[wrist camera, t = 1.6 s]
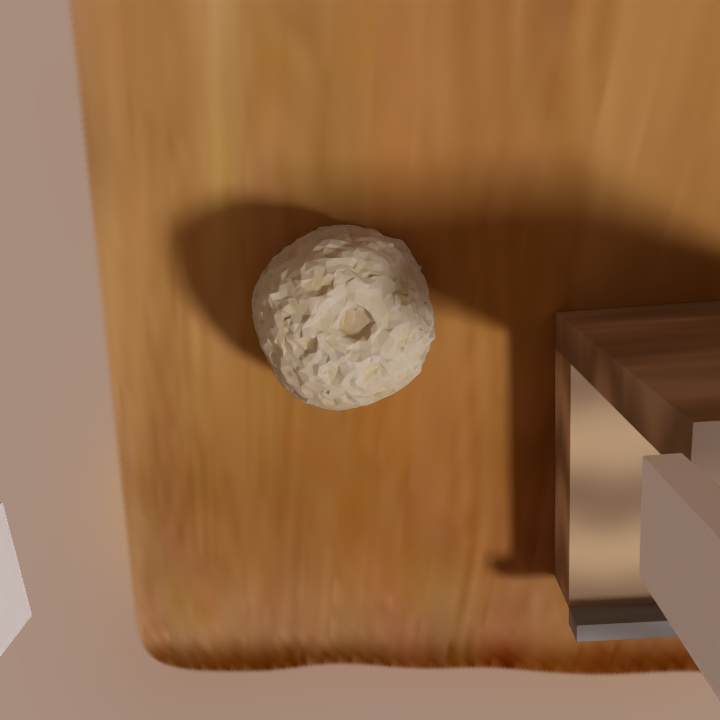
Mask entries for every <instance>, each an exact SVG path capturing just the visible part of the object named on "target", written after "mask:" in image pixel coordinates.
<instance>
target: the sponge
mask: <svg viewBox="0 0 720 720" xmlns="http://www.w3.org/2000/svg"><path fill="white" fill-rule="evenodd" d="M421 268H422V267H421V266H420V265H419V264H417V262H416V260H415V258H414V257H413V256H412V254H411V251H410V249H409V248H408V247H407V245H406V244H405V242H404V241H402V240H401V239H395V238H391V237H387V236H384V235H382V234H381V233H379V232H378V231H377V230H375V229H371V228H362V227H360V226H356V225H332V226H326V227H319V228H318V229H317V230H315V231H311V232H310V233H307V234H306V235H305V236H302V237H301V238H299V239H296V241H295V242H293V243H292V244H291V245H289V246H287V247H285V248H284V249H283V250H282V251H281V252H280V253H279V254H278V255H276V256H274V257H273V258H272V259H271V262H270V263H269V264H268V266H267V268H266V269H265V270H264V271H263V272H262V273H261V275H260V278H259V280H258V282H257V284H256V285H255V288H254V290H253V295H252V312H253V314H252V318H253V323H254V327H255V330H256V334H257V336H258V339H259V344H260V347H261V349H262V350H263V352H264V354H265V356H266V358H267V361H268V363H269V364H270V365H271V367H272V370H273V372H274V375H275V376H276V377H277V379H278V380H279V382H280V383H281V385H282V386H283V387H284V388H285V389H286V390H287V391H289V392H290V393H291V395H292V396H293V397H295V398H298V399H300V400H302V401H303V402H305V403H307V404H309V405H310V404H312V405H315V406H317V407H320V408H324V409H331V410H336V411H337V410H344V409H350V408H356V407H360V406H366V405H369V404H371V403H374V402H378V401H379V400H380V399H383V398H385V397H387V396H390V395H392V394H394V393H396V392H397V391H399V390H400V389H402V388H403V387H405V386H406V385H407V384H409V383H410V382H411V381H412V380H413V379H414V378H415V377H416V376H417V375H418V374H420V372H421V370H422V365H423V362H424V360H425V357H426V355H427V352H428V351H429V350H430V343H431V342H432V341H433V340H434V339H435V330H434V315H435V314H434V313H433V307H432V305H431V303H430V297H429V294H428V292H429V289H428V285H427V282H426V279H425V276H424V275H423V274H422V273H421Z"/></svg>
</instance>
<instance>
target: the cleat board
mask: <svg viewBox="0 0 720 720" xmlns="http://www.w3.org/2000/svg"><path fill="white" fill-rule="evenodd" d="M675 453H682V454H683V455H684V456H685V457H686V458H688V459H689V460H690V461H691V462H692V463H693V464H694V465H695V466H696V467H697V468H698V469H699V470H701V471H702V472H703V473H704V474H705V475H706V476H707V477H708V478H709V479H710V480H711V481H712V482H713V483H715V484H716V485H717V486H718V487H719V488H720V300H717V301H703V302H689V303H675V304H661V305H647V306H633V307H619V308H605V309H591V310H577V311H563V312H555V577H556V579H557V582H558V584H559V586H560V588H561V591H562V593H563V595H564V597H565V600H566V602H567V604H568V607H569V625H570V627H571V629H572V632H573V634H574V636H575V639H576V641H577V642H578V641H597V640H617V639H637V638H657V637H676V636H678V635H677V634H676V632H675V631H674V629H673V628H672V626H671V625H670V623H669V622H668V620H667V618H666V617H665V615H664V614H663V612H662V611H661V609H660V608H659V606H658V605H657V603H656V601H655V600H654V598H653V597H652V595H651V594H650V592H649V591H648V589H647V588H646V586H645V585H644V583H643V581H642V580H641V578H640V577H639V566H640V530H641V494H642V458H643V456H647V455H661V454H675Z"/></svg>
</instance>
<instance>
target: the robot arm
mask: <svg viewBox="0 0 720 720" xmlns="http://www.w3.org/2000/svg"><path fill="white" fill-rule="evenodd" d="M639 577H640V578H641V580H642V581H643V583H644V585H645V586H646V588H647V589H648V591H649V592H650V594H651V595H652V597H653V598H654V600H655V601H656V603H657V605H658V606H659V608H660V609H661V611H662V612H663V614H664V615H665V617H666V618H667V620H668V622H669V623H670V625H671V626H672V628H673V629H674V631H675V632H676V634H677V635H678V637H679V639H680V640H681V642H682V643H683V645H684V646H685V648H686V649H687V651H688V652H689V654H690V656H691V657H692V659H693V660H694V662H695V663H696V665H697V666H698V668H699V669H700V671H701V673H702V674H703V675H704V677H705V679H706V680H707V682H708V683H709V685H710V686H711V688H712V689H713V691H714V693H715V694H716V696H717V697H718V699H719V700H720V488H719V487H718V486H717V485H716V484H715V483H713V482H712V481H711V480H710V479H709V478H708V477H707V476H706V475H705V474H704V473H703V472H702V471H701V470H699V469H698V468H697V467H696V466H695V465H694V464H693V463H692V462H691V461H690V460H689V459H688V458H686V457H685V456H684V455H683V454H682V453H675V454H661V455H647V456H643V458H642V494H641V530H640V566H639ZM31 616H32V614H31V610H30V606H29V603H28V599H27V595H26V592H25V587H24V583H23V580H22V576H21V572H20V568H19V564H18V560H17V557H16V553H15V549H14V545H13V541H12V537H11V533H10V529H9V526H8V522H7V518H6V514H5V510H4V506H3V503H2V502H0V656H1V655H2V653H3V652H4V651H5V649H6V648H7V647H8V646H9V644H10V643H11V641H12V640H13V639H14V638H15V636H16V635H17V634H18V632H19V631H20V630H21V629H22V627H23V626H24V625H25V623H26V622H27V621H28V619H29V618H30V617H31Z"/></svg>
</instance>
